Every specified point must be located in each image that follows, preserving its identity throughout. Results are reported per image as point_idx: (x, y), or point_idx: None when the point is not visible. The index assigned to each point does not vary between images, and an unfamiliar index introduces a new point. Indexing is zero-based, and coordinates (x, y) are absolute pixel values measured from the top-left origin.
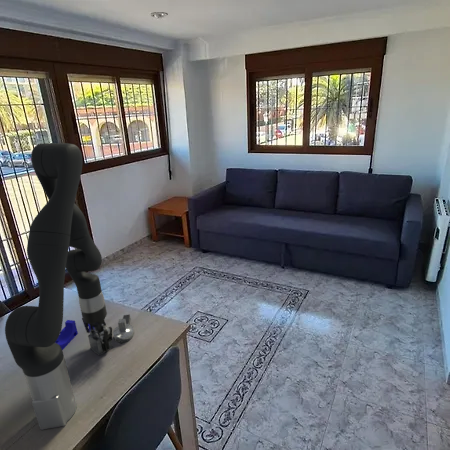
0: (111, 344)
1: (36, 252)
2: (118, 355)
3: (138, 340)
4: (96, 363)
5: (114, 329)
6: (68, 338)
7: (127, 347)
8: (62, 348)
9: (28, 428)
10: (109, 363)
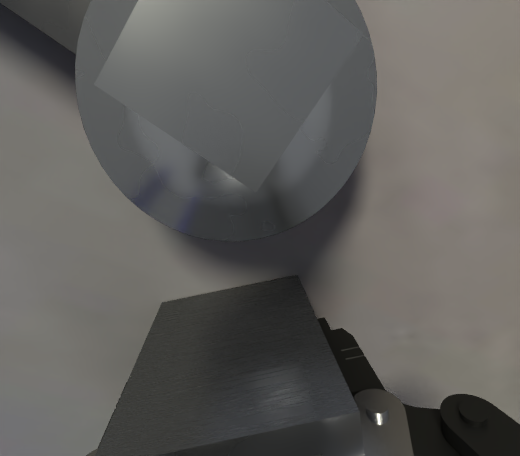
0: (302, 292)
1: None
2: (437, 281)
3: (428, 29)
4: None
5: (122, 188)
6: None
7: (420, 177)
8: None
9: None
10: (451, 362)
